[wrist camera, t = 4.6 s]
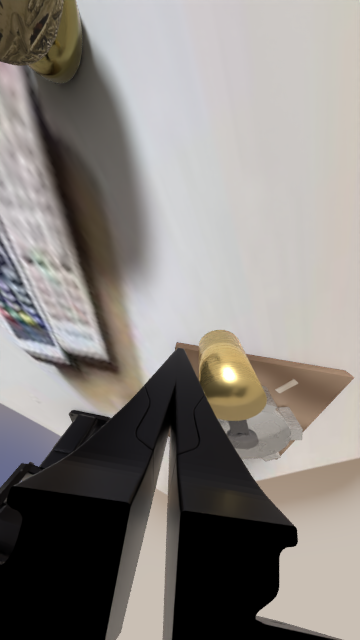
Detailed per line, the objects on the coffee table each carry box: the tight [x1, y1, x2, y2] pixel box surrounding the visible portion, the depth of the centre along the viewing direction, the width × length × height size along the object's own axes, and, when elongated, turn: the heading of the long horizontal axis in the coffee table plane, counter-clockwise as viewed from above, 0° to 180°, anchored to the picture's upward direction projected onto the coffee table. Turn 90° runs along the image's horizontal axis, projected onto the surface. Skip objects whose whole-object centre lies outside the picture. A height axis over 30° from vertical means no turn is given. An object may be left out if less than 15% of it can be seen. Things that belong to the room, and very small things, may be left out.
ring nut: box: [199, 330, 303, 461], centre depth 11 cm, size 18×11×6 cm, turn 17°
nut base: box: [168, 342, 354, 459], centre depth 16 cm, size 16×16×1 cm
